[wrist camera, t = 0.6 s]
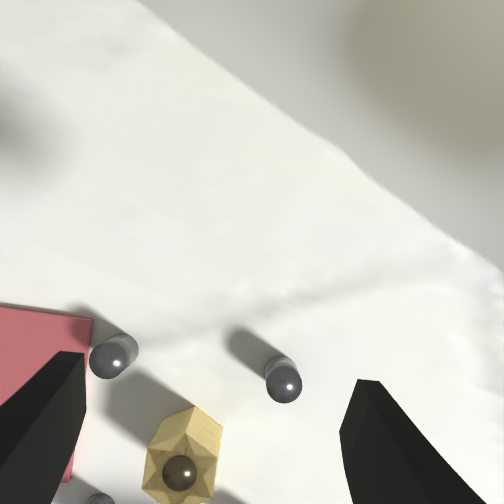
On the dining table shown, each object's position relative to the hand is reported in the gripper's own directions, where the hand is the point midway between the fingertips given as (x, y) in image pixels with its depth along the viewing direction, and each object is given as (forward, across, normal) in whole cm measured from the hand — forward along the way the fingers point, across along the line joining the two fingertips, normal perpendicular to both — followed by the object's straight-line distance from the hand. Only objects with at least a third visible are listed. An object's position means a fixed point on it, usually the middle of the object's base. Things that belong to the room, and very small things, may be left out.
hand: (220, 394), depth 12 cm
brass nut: (+14, 0, +19) cm, 24 cm away
